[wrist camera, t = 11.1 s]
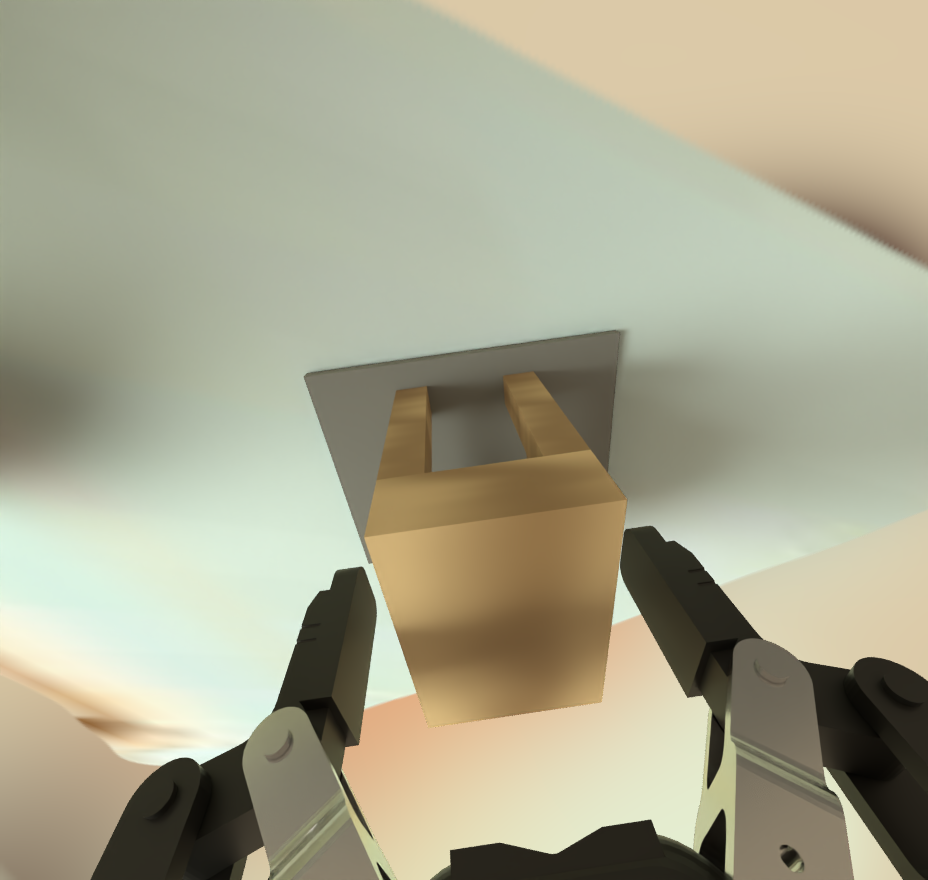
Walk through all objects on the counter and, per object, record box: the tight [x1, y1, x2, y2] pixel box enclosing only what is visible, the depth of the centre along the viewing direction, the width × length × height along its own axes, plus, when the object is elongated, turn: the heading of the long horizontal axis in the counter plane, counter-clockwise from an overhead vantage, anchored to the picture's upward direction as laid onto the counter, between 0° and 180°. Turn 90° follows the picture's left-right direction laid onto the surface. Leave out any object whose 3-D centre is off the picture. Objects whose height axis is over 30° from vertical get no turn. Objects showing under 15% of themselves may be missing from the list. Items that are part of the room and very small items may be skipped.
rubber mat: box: [304, 330, 620, 564], centre depth 17 cm, size 12×10×1 cm
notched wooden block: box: [364, 371, 627, 728], centre depth 13 cm, size 5×8×8 cm
